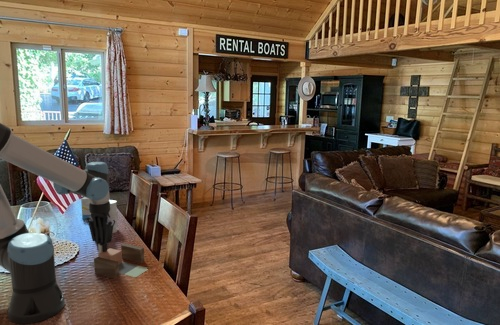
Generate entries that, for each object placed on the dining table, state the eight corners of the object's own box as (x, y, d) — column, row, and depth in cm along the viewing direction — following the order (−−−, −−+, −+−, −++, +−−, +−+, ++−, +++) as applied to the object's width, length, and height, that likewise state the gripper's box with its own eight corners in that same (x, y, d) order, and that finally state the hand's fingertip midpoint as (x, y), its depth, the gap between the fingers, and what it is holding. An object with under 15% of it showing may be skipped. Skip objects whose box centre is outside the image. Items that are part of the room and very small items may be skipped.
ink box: (97, 219, 197) (96, 198, 195) (82, 219, 198) (80, 198, 195) (104, 214, 206) (102, 194, 204) (89, 214, 206) (87, 194, 204)
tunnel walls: (115, 279, 133) (114, 263, 132) (94, 273, 137) (93, 258, 136) (144, 261, 148) (143, 247, 147) (125, 257, 152) (124, 243, 151)
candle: (120, 231, 180) (118, 202, 177) (105, 234, 176) (103, 204, 173) (116, 227, 186) (115, 199, 183) (102, 230, 182) (100, 201, 179)
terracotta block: (110, 268, 141) (110, 256, 140) (99, 265, 143) (98, 253, 142) (121, 262, 146) (121, 250, 145) (110, 259, 149) (109, 248, 148)
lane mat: (135, 277, 135) (135, 277, 135) (87, 265, 144) (87, 264, 144) (149, 268, 142) (149, 268, 142) (103, 257, 151) (103, 256, 151)
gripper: (119, 201, 143) (122, 258, 147) (94, 197, 148) (97, 252, 152) (104, 206, 136) (108, 265, 140) (79, 202, 141) (83, 259, 145)
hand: (103, 258), depth 146 cm, fingers closed
